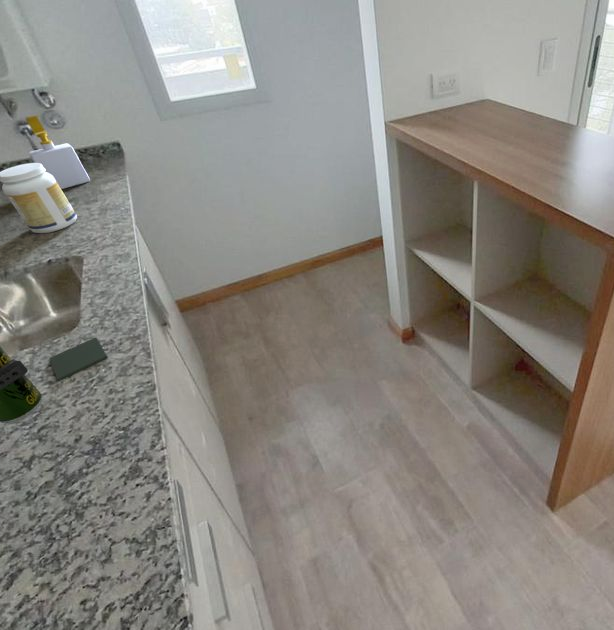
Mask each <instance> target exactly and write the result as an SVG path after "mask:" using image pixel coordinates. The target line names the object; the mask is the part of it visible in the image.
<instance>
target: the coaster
mask: <svg viewBox="0 0 614 630" xmlns="http://www.w3.org/2000/svg"><path fill="white" fill-rule="evenodd" d="M108 358H109V357H108V355H107V353H106V352H105V349H104V348H103V346H102V345H101V343H100V341H99V340H98V338H97V336H94V337H93V338H91V339H88V340H86V341H83V342H82V343H79V344H78V345H74V346H73V347H71V348H67V349H66V350H64V351H61V352H60V353H57V354H55V355H52V356H50V357H49V358H48V359H49V362H50V365H51V367H52V370H53V372H54V375H55V376H56V380H57V381H58V382H61V381H62V380H64V379H67V378H69V377H71V376H73V375H75V374H77V373H79V372H81V371H84V370H86V369H87V368H90V367H92V366H94V365H96V364H97V363H101V362H102V361H104V360H107V359H108Z"/></svg>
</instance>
